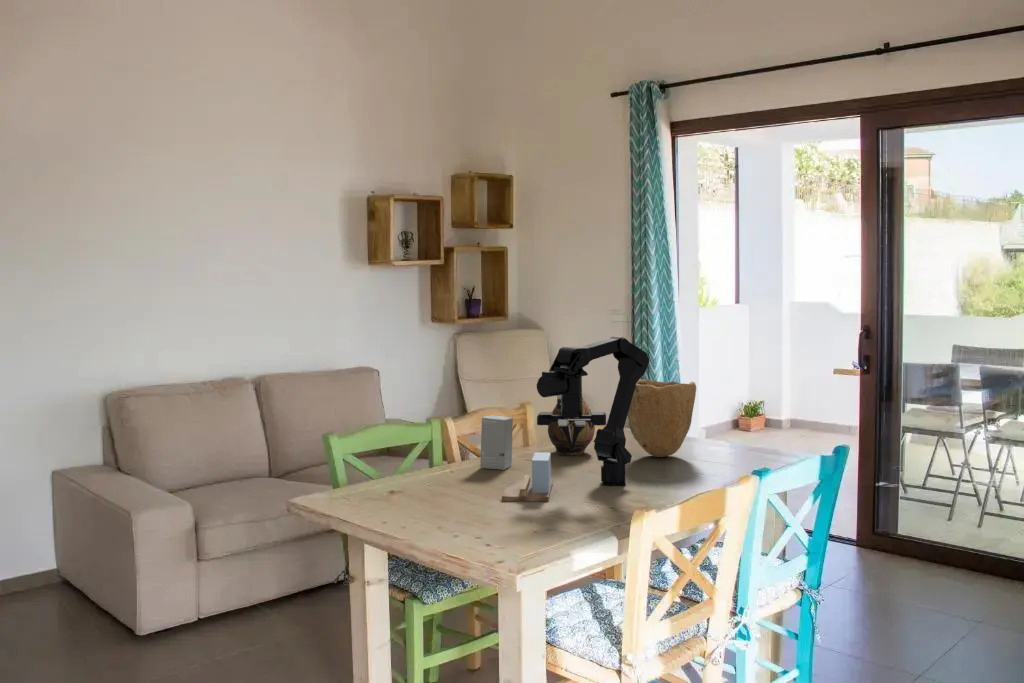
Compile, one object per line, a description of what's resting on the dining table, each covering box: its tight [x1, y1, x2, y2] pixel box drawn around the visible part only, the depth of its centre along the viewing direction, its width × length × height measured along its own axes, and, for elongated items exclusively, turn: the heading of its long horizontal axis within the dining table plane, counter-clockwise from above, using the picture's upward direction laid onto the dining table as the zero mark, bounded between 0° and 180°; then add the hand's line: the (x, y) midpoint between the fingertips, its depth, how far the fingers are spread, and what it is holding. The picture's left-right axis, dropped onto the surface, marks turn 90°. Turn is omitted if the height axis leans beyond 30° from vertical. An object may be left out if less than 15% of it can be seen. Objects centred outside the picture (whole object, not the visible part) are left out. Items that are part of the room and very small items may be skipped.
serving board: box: [501, 474, 554, 502], centre depth 271 cm, size 12×18×3 cm
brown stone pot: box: [627, 378, 697, 458], centre depth 312 cm, size 22×22×25 cm
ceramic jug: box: [547, 396, 596, 456], centre depth 322 cm, size 17×15×30 cm
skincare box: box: [479, 414, 514, 471], centre depth 302 cm, size 8×7×16 cm
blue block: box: [531, 452, 552, 493], centre depth 270 cm, size 4×10×9 cm, turn 174°
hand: (572, 449), depth 268 cm, fingers closed
